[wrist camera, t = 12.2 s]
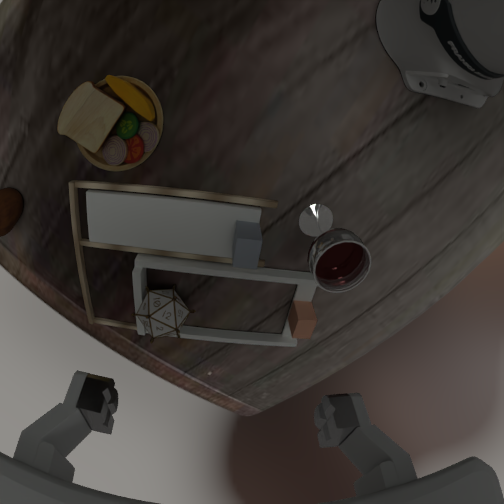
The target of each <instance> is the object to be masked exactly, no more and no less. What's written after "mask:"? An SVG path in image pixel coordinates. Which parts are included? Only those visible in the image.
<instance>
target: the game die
mask: <svg viewBox="0 0 504 504" xmlns="http://www.w3.org/2000/svg"><path fill="white" fill-rule="evenodd" d="M175 288H176V284H175V285H173V287H172V289H163V290H149V288H148V287H147V286H145V289H146V291H148V292H147V294H146V296H145V298H144V300H143V302H142V304H141V306H140V308H139V310H138V312H137V313H133V314H131V315H132V316H133V317H134V316H137V317H138V318H139V320H140V321H141V323H142V324H143V325H144V327H145V328H146V330H147V331H148V332H149V334H150V335H151V337H152V338H151V340H150V342H151V343H152V342H153V341H154V338H159V337H166V336H172V335H177V337H178V338H180V334H178V333H180V329H181V328H182V326H183V324H184V322H185V321H186V319H187V317H188V315H189V314H190V313H194V312H195V310H189V309H188V307H187V306H186V305H185V303H184V302H183V301H182V299H181V298H180V297H179V295H178V294H177V293H176V291H175V290H174V289H175Z"/></svg>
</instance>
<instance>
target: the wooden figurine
mask: <svg viewBox="0 0 504 504" xmlns="http://www.w3.org/2000/svg"><path fill="white" fill-rule="evenodd" d="M22 211H23V199H22V196H21V195H20V193H19V192H18V191H17V190H16V189H12V188H4V189H1V190H0V236H4V235H5V234H7V233H8V232H10V231H11V230H12V228H13V227H14V225H15V224H16V222H17V221H18V219H19V217H20V215H21V213H22Z"/></svg>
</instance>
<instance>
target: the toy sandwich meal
mask: <svg viewBox="0 0 504 504" xmlns="http://www.w3.org/2000/svg"><path fill="white" fill-rule="evenodd" d="M57 129H58V133H59V134H61V135H66V136H68V137H70V138H71V139H73V140H74V141H76V142H77V145H78V147H79V149H80V151H81V152H82V154H83V155H84V156H85V158H86V159H87V160H88V161H89V162H91V163H92V164H93V165H95V166H97V167H99V168H101V169H104V170H108V171H124V170H128V169H131V168H134V167H136V166H138V165H139V164H141V163H142V162H144V161H145V160H146V159H147V158H148V157H149V156H150V155H151V154H152V152H153V151H154V150H155V148H156V146H157V144H158V142H159V140H160V137H161V134H162V129H163V112H162V108H161V104H160V102H159V100H158V98H157V96H156V94H155V93H154V92H153V90H152V89H151V88H150V87H149V86H148V85H146V84H145V83H144V82H142V81H140V80H138V79H136V78H133V77H128V76H111V75H108V76H107V77H106V78H105V79H104V80H102V81H100V82H98V83H97V84H94V83H93V82H92V81H87V82H85V83H83V84H81V85H80V86H79V87H78V88H77V89H76V90H75V91H74V92H73V93H72V94H71V95H70V97H69V98H68V100H67V101H66V103H65V105H64V107H63V109H62V111H61V114H60V117H59V120H58V127H57Z"/></svg>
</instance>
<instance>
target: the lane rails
mask: <svg viewBox="0 0 504 504" xmlns="http://www.w3.org/2000/svg"><path fill="white" fill-rule="evenodd" d="M78 188H92V189H106V190H119V191H131V192H142V193H153V194H163V195H173V196H182V197H191V198H200V199H209V200H217V201H225V202H233V203H241V204H249V205H256V206H263V207H270V208H277V205H278V201H275V200H268V199H261V198H254V197H246V196H239V195H231V194H223V193H215V192H206V191H198V190H189V189H179V188H170V187H159V186H148V185H137V184H124V183H111V182H96V181H79V180H72V181H71V182H69V195H70V208H71V219H72V229H73V238H74V245H75V253H76V259H77V266H78V272H79V277H80V283H81V288H82V293H83V298H84V303H85V307H86V312H87V316H88V320H89V324H93V323H99V324H105V325H110V326H116V327H122V328H128V329H134V330H137V324H134V323H127V322H121V321H115V320H110V319H104V318H99V317H94V312H93V308H92V303H91V297H90V292H89V287H88V281H87V275H86V268H85V261H84V254H83V246H90V247H97V248H105V249H113V250H121V251H129V252H137V253H145V254H153V255H162V256H170V257H179V258H187V259H196V260H204V261H213V262H222V263H231V264H232V258H226V257H217V256H208V255H200V254H191V253H182V252H174V251H165V250H157V249H149V248H140V247H132V246H124V245H116V244H107V243H99V242H91V241H89V239H82V238H81V228H80V217H79V204H78ZM264 265H265V260H261V259H259V261H258V267H264Z"/></svg>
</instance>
